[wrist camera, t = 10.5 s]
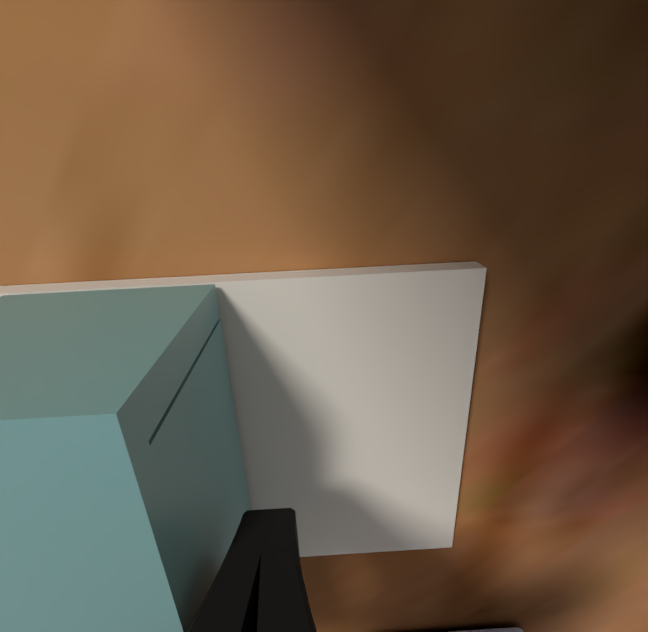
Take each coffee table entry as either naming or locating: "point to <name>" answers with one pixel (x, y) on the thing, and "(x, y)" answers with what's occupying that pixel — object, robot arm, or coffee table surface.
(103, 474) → the cover
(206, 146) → the coffee table surface
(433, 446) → the base plate
